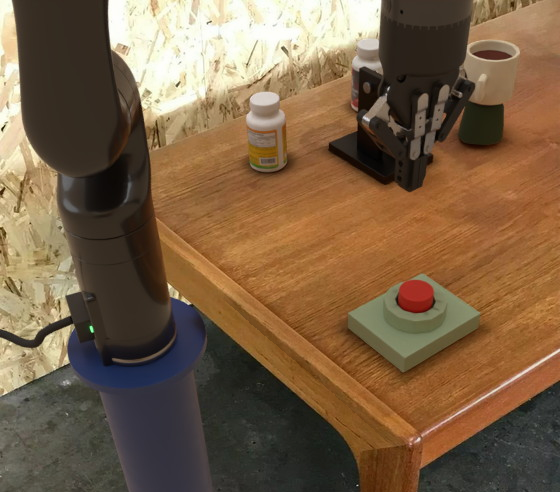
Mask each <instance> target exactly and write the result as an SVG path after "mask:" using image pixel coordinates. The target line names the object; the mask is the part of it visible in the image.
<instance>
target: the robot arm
mask: <svg viewBox="0 0 560 492" xmlns="http://www.w3.org/2000/svg"><path fill="white" fill-rule="evenodd" d="M109 3H110V0H11V4H12V9H13V10H12V11H13V16H14V23H15V35H16V44H17V45H16V46H17V47H16V48H17V59H18V60H17V61H18V77H19V80H18V81H19V97H20V113H21V121H22V122H21V123H22V127H23V129H24V130H23V131H24V133H25V136H26V138H27V140H28V142H29V144H30V147H31V148H32V150H33V152H35V154H36V155H37V156H38V157H39V159H40V160H41V161H43V163H44V164H46V165H47V166H48V167H49V168H50V169H52V170H54V171H55V172H56V191H55V193H56V194H55V195H56V196H55V197H56V198H55V199H56V206H57V210H58V213H59V218H60V222H61V224H62V228H63V232H64V234H65V238H66V242H67V245H68V249H69V252H70V256H71V260H72V263H73V266H74V274H75V277H76V282H77V284H78V289H79V291H77V292H74V293H70V294H65V295H64V297H65V300H66V301H65V302H66V304H67V308H68V310H69V315H68V316H66V317H63V318H61V319H59V320H56V321H54V322H52V323H50V324H47V325H46V326H44V327H43V328H41V329H40V330H39V331H37V333H36V334H35V337H34V338H33V339H26V338H23V337H21V336H19V335H16V334H15V333H13V332H11V331H8V330H5V329H1V328H0V339H3V340H6V341H7V342H10V343H12V344H14V345H15V346H19V347H21V348H26V349H36V348H38V347H40V346H41V345H42V344H43V343H44V341H45V338H46V337H47V336H50V335H51V334H53V333H55V332H57V331H59V330H62V329H65V328H67V327H69V326H72V325H73V326H74V328H75V330H76V333H77V336H78V339H79V343H83V342H87V341H90V340H94V341H95V345H96V348H97V351H98V353H99V355H100V358H101V361H102V364H103V366H109V365H118V366H125V367H135V366H142V365H146V364H149V363H152V362H154V361H157V360H159V359H160V358H162V357H163V356H165V355H166V354H167V353H168V352H169V351H170V350H171V349H172V348H173V346H174V345H175V343H176V340H177V328H176V323H175V319H174V315H173V310H172V305H171V299H170V297H171V293H170V289H169V283H168V278H167V272H166V267H165V260H164V256H163V250H162V245H161V239H160V234H159V228H158V222H157V218H156V212H155V206H154V200H153V191H152V164H151V163H152V162H151V157H150V148H149V143H148V135H147V129H146V123H145V116H144V110H143V104H142V103H143V102H142V99H141V94H140V90H139V86H138V83H137V81H136V78H135V76H134V73H133V71H132V70H131V68H130V66H129V65H128V64H127V62H126V61H125V59H124V58H122V57H121V55H119V54H118V53H117V52H116V51H115V50H113V49H112V46H111V35H110V23H109V20H110V19H109V7H110V6H109V5H110V4H109ZM473 7H474V0H380V13H379V14H380V17H379V34H378V35H379V36H378V39H379V50H378V56H379V60H380V62H381V65H382V69H383V76H382V80H381V82H380V85H379V87H378V97H379V99H378V100H377V101H376V103H375V104H374V105H373V106H372V108H371V109H370V110H369V112H368V111H366V110H364V109H362V110H360V111H359V112H357V114H356V118H355V119H356V122H357V123H359V124H360V125H361V127H362V128H363V129H364V130H365V131H366V133H367V134H368V135H369V136H370V138H371V139H372V140H373V141H374V142H375V144H376V145H377V146H378V147H379V148H380V149H381V150H382V151H384V152H386V153H387V154H389V155H391V156H392V157H394V158H396V164H395V177H394V179H395V180H394V182H395V184H397V186H398V187H400V188H401V189H403V190H404V191H405V192H407V193H412V192H414V191H416V190H418V189H420V188H423V184H424V180H425V178H426V175H427V166H428V164H427V159H428V154H429V153H432V151H433V149H434V145H435V144H436V143H437V142H439V143H443V142H444V141H445V140H446V139H447V138H448V136H449V134H450V133H451V131H452V129H453V127H454V126H455V124H456V122H457V121H458V119H459V117H460V116H461V114H462V113H463V111H464V108H465V105H466V104H467V102H468V100H469V99H470V97H471V95H472V93H473V92H474V90H475V83H474V82H472V81H470V80H468V79H466V78H464V77H462V76H460V75H459V73H460V66H461V65H462V64H463V63H464V61H465V58H466V53H467V46H468V45H469V37H470V31H471V22H472V16H473V15H472V14H473ZM388 112H389V114H390V121H389V116H388ZM444 114H445V117H444V119H443V116H444ZM389 127H391V128H392V129H393V132H392V131H391V129H390V128H389ZM406 140H407V141H406Z"/></svg>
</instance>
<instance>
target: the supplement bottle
mask: <svg viewBox="0 0 560 492" xmlns="http://www.w3.org/2000/svg"><path fill="white" fill-rule="evenodd" d="M249 108H250V111H249V112H248V113H247V115H246V117H245V123H246V124H245V125H246V139H247V148H248V150H247V151H248V161H249V165H250V167H251V168H252V169H253V170H255V171H258V172H261V173H273V172H277V171H280V170H282V169H283V168H284V167H286V165H287V163H288V144H287V119H286V115H285V112H284V111H283V110H282V109H281V99H280V96H279V94H278V93H275V92H272V91H259V92H256V93H254V94H252V95H251V97H250V98H249Z"/></svg>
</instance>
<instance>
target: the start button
mask: <svg viewBox="0 0 560 492" xmlns="http://www.w3.org/2000/svg"><path fill="white" fill-rule="evenodd" d="M408 280H409V281H408ZM408 280H406V281H403V282H404V283H403V284H402V285H401V286H400V288H399V297H398V304H399V306H400V308H401V309H402V310H404V311H407V312H411V313H424V312H427V311H428V310H430V308H431V307H432V303H433V295H434V290H433V287H432V286H431V285H430V284H429V283H427V282H425V281H422V280H410V279H408Z"/></svg>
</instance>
